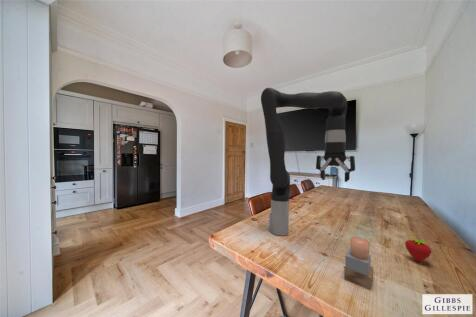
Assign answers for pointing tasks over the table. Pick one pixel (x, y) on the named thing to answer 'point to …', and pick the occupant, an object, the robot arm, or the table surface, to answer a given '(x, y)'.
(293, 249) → the table surface
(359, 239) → the terracotta cylinder
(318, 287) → the table surface
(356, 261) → the tower middle
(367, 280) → the tower base
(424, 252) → the strawberry
